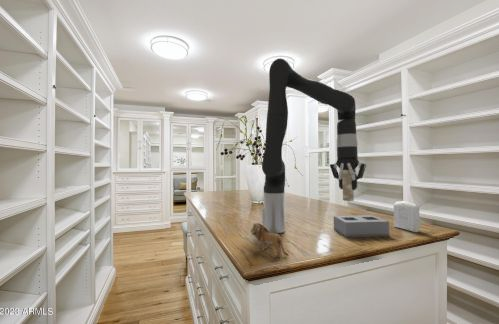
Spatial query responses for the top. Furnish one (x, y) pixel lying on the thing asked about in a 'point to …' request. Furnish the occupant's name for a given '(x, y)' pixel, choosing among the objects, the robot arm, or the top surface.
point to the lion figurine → (267, 238)
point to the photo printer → (406, 216)
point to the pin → (347, 186)
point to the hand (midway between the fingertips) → (348, 189)
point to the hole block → (361, 226)
